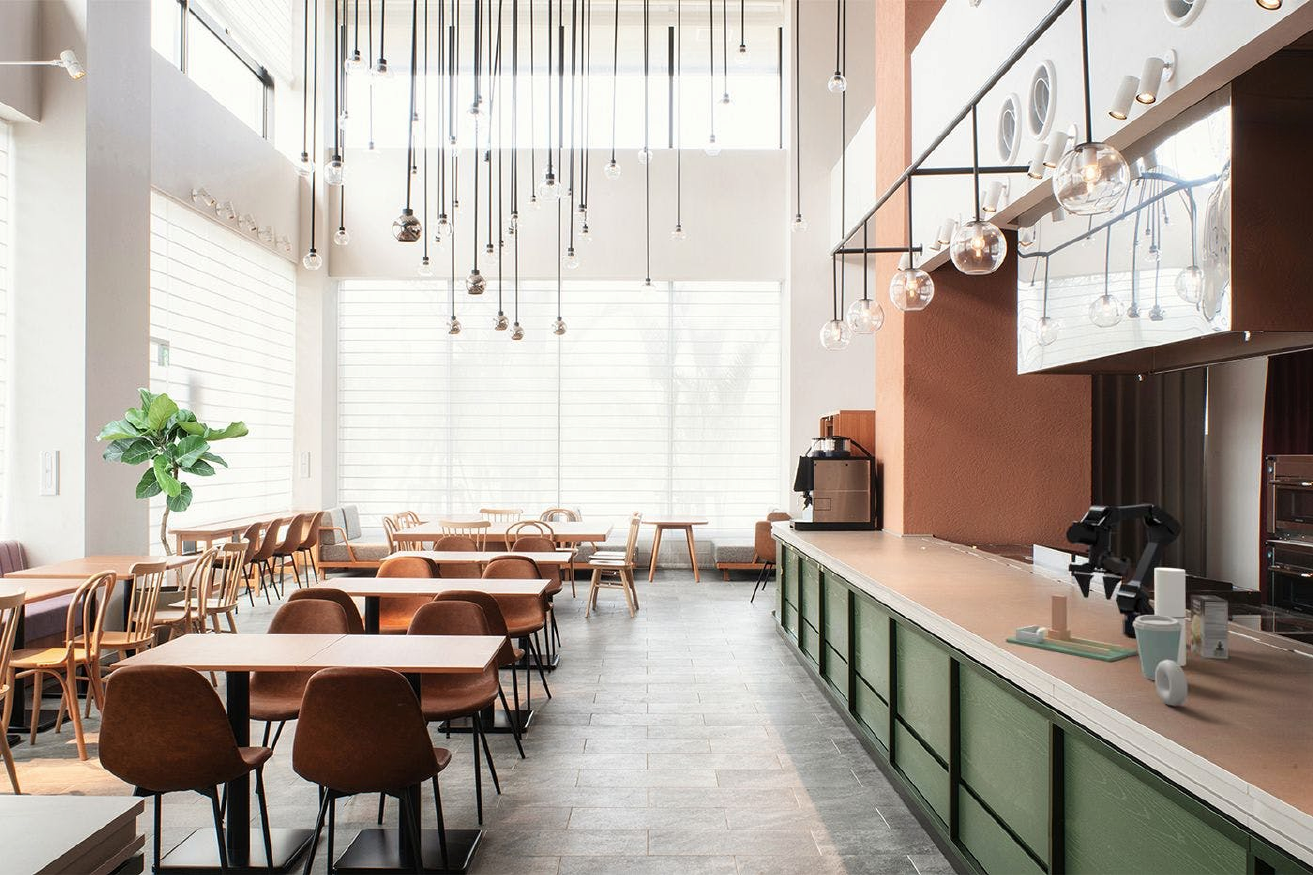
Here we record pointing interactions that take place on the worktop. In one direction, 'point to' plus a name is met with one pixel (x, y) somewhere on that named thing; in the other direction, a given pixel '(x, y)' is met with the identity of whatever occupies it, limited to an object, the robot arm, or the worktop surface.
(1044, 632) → the ball
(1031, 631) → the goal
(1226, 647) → the coffee box
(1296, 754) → the worktop surface
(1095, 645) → the board
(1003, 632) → the worktop surface
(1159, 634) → the disposable coffee cup
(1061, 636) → the player
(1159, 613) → the cylindrical container
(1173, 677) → the donut
